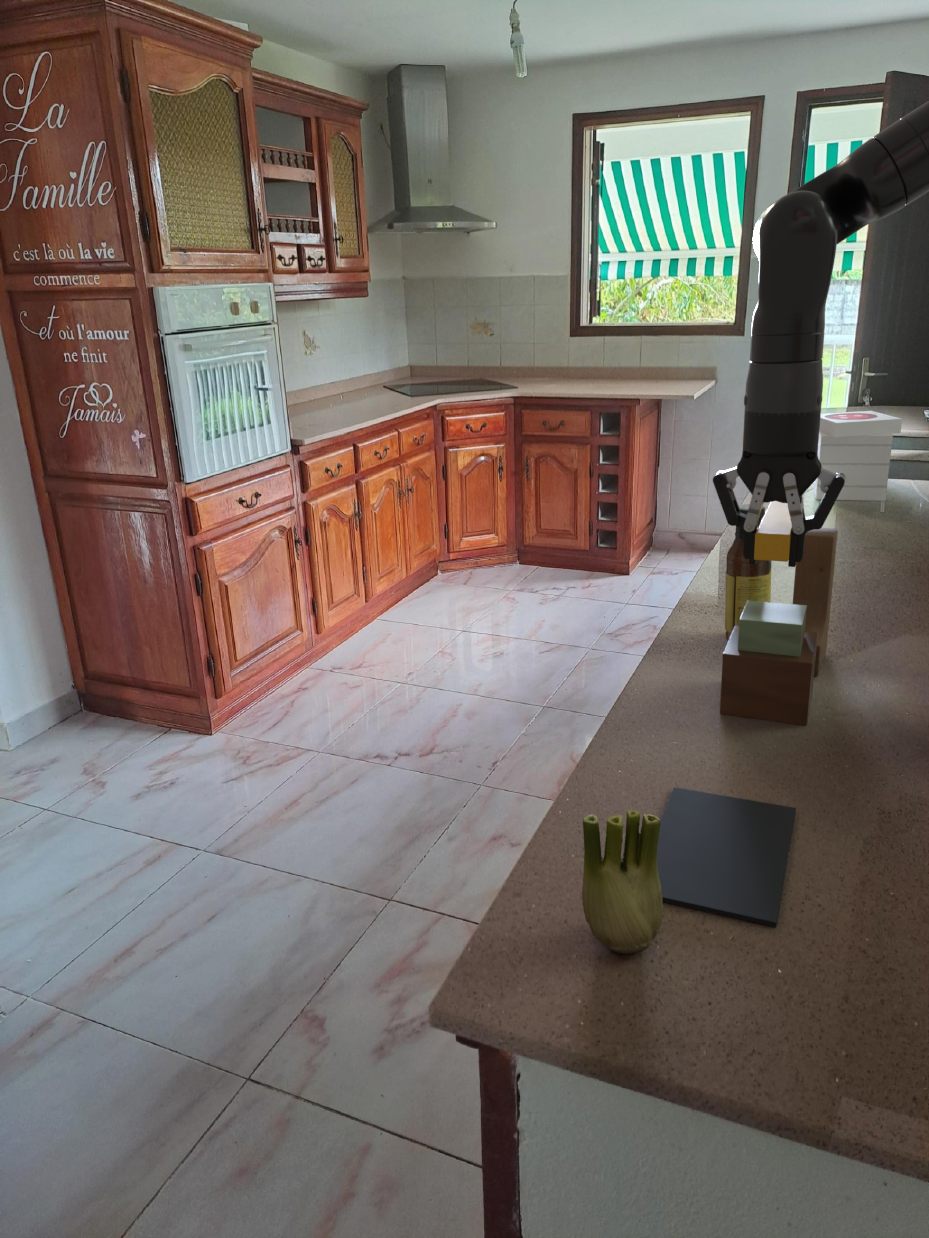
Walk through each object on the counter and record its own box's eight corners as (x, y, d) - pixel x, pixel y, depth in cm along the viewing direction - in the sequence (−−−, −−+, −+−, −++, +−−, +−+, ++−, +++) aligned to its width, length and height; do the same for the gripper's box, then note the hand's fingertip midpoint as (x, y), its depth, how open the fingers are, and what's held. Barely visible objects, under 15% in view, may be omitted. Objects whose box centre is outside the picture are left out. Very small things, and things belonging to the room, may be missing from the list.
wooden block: (818, 677, 116) (830, 545, 109) (782, 672, 118) (792, 543, 111) (826, 652, 123) (838, 527, 117) (792, 648, 125) (802, 525, 119)
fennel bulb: (577, 946, 71) (576, 819, 67) (602, 910, 75) (602, 788, 71) (646, 970, 68) (649, 840, 64) (667, 932, 72) (671, 806, 68)
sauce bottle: (777, 639, 128) (787, 506, 121) (749, 650, 125) (758, 514, 118) (740, 627, 133) (748, 499, 127) (713, 638, 130) (719, 507, 123)
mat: (673, 790, 92) (673, 786, 92) (795, 812, 87) (795, 807, 87) (631, 895, 77) (631, 890, 77) (776, 927, 72) (776, 922, 72)
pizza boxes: (881, 476, 225) (889, 404, 219) (895, 503, 198) (905, 422, 192) (801, 475, 231) (807, 405, 225) (805, 501, 204) (811, 422, 198)
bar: (771, 519, 111) (773, 495, 110) (801, 520, 109) (803, 496, 108) (753, 559, 96) (755, 533, 94) (787, 561, 94) (789, 534, 93)
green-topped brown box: (731, 681, 116) (736, 595, 112) (812, 690, 112) (820, 602, 108) (719, 713, 108) (724, 622, 103) (806, 725, 104) (815, 631, 99)
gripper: (857, 400, 92) (843, 558, 98) (718, 401, 97) (712, 550, 103) (855, 410, 85) (839, 578, 91) (706, 410, 91) (701, 569, 97)
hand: (772, 563), depth 97 cm, fingers closed on bar, 3 cm apart
